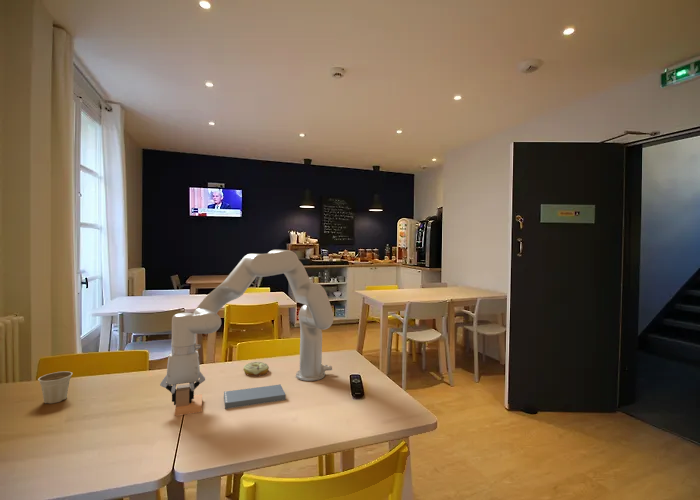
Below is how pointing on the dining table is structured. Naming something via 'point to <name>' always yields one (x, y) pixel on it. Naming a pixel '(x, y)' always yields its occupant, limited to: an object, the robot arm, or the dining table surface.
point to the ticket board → (253, 396)
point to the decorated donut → (256, 368)
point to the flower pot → (55, 386)
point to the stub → (187, 401)
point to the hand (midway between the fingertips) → (183, 401)
